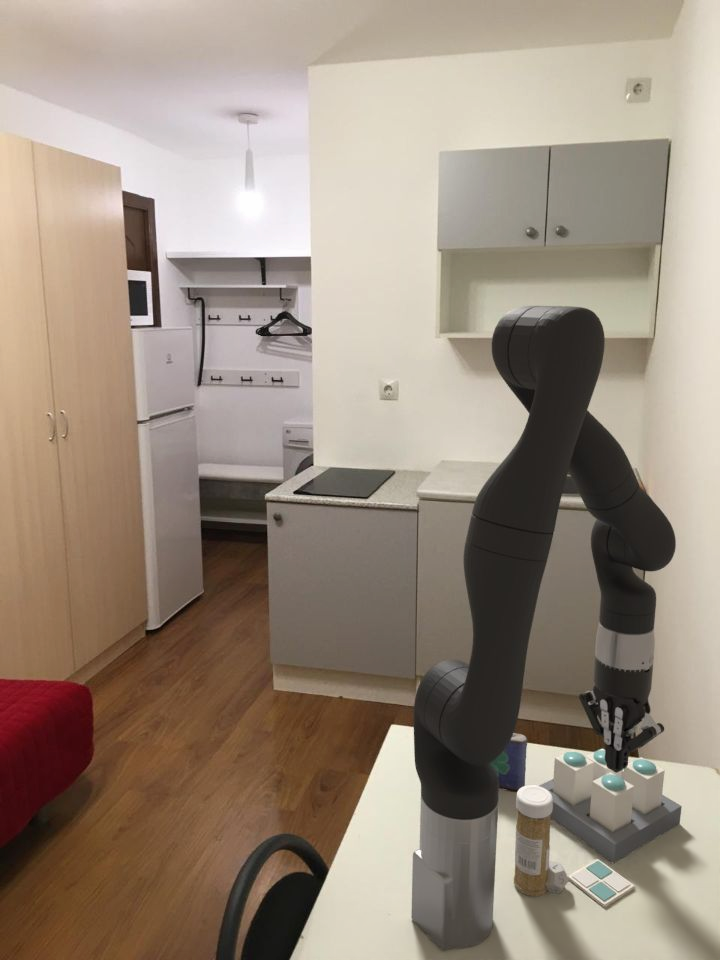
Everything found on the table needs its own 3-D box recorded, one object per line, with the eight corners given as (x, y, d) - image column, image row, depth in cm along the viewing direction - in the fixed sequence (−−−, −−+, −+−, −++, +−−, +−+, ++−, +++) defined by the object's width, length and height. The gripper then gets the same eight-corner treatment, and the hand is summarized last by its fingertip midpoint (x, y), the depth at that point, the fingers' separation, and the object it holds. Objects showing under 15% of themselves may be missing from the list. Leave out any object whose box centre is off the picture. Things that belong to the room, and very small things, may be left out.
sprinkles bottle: (555, 886, 100) (560, 795, 97) (533, 903, 97) (538, 810, 94) (527, 867, 103) (531, 779, 100) (505, 883, 100) (509, 792, 97)
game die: (574, 888, 99) (575, 868, 99) (556, 901, 97) (557, 881, 97) (552, 872, 102) (553, 853, 102) (534, 885, 100) (535, 865, 99)
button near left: (573, 807, 112) (576, 768, 110) (552, 793, 115) (555, 755, 114) (591, 798, 114) (594, 759, 113) (570, 784, 117) (573, 747, 116)
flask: (526, 786, 121) (529, 725, 119) (520, 796, 119) (524, 734, 116) (472, 769, 125) (474, 710, 123) (465, 778, 123) (467, 718, 121)
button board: (613, 863, 104) (615, 844, 103) (532, 805, 116) (533, 788, 116) (679, 823, 112) (681, 806, 111) (597, 773, 124) (598, 757, 124)
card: (604, 907, 96) (604, 903, 96) (567, 878, 101) (567, 875, 101) (634, 888, 100) (634, 884, 99) (597, 861, 104) (597, 857, 104)
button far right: (643, 816, 110) (647, 776, 109) (620, 801, 113) (624, 763, 112) (660, 806, 112) (664, 767, 111) (637, 792, 115) (641, 754, 114)
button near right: (612, 834, 106) (615, 793, 105) (589, 818, 109) (592, 778, 108) (630, 823, 108) (634, 783, 107) (607, 808, 112) (610, 769, 110)
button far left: (603, 804, 116) (606, 766, 115) (582, 790, 119) (585, 754, 118) (620, 795, 118) (623, 758, 117) (599, 782, 122) (602, 746, 120)
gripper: (567, 644, 107) (561, 755, 111) (648, 681, 96) (638, 802, 100) (602, 631, 111) (595, 739, 115) (684, 666, 100) (673, 783, 104)
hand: (615, 768), depth 107 cm, fingers closed
